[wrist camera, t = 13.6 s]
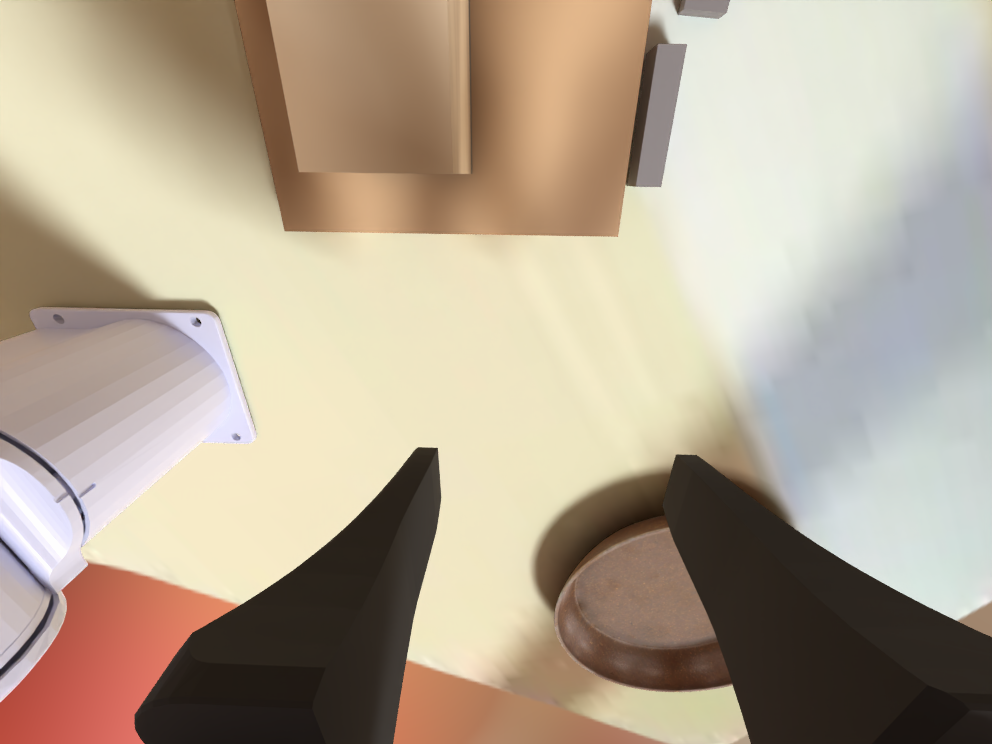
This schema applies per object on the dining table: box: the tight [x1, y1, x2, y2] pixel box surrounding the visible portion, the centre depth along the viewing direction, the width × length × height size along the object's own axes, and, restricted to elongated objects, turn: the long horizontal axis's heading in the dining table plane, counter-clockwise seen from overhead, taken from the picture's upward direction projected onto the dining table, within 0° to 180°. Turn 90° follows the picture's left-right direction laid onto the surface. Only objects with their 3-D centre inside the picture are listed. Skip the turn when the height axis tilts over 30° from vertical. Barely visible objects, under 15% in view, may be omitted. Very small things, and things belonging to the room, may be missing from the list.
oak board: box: [234, 0, 652, 237], centre depth 14 cm, size 14×14×2 cm
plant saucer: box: [554, 515, 733, 692], centre depth 27 cm, size 18×18×3 cm
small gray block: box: [627, 44, 687, 187], centre depth 15 cm, size 2×4×1 cm
